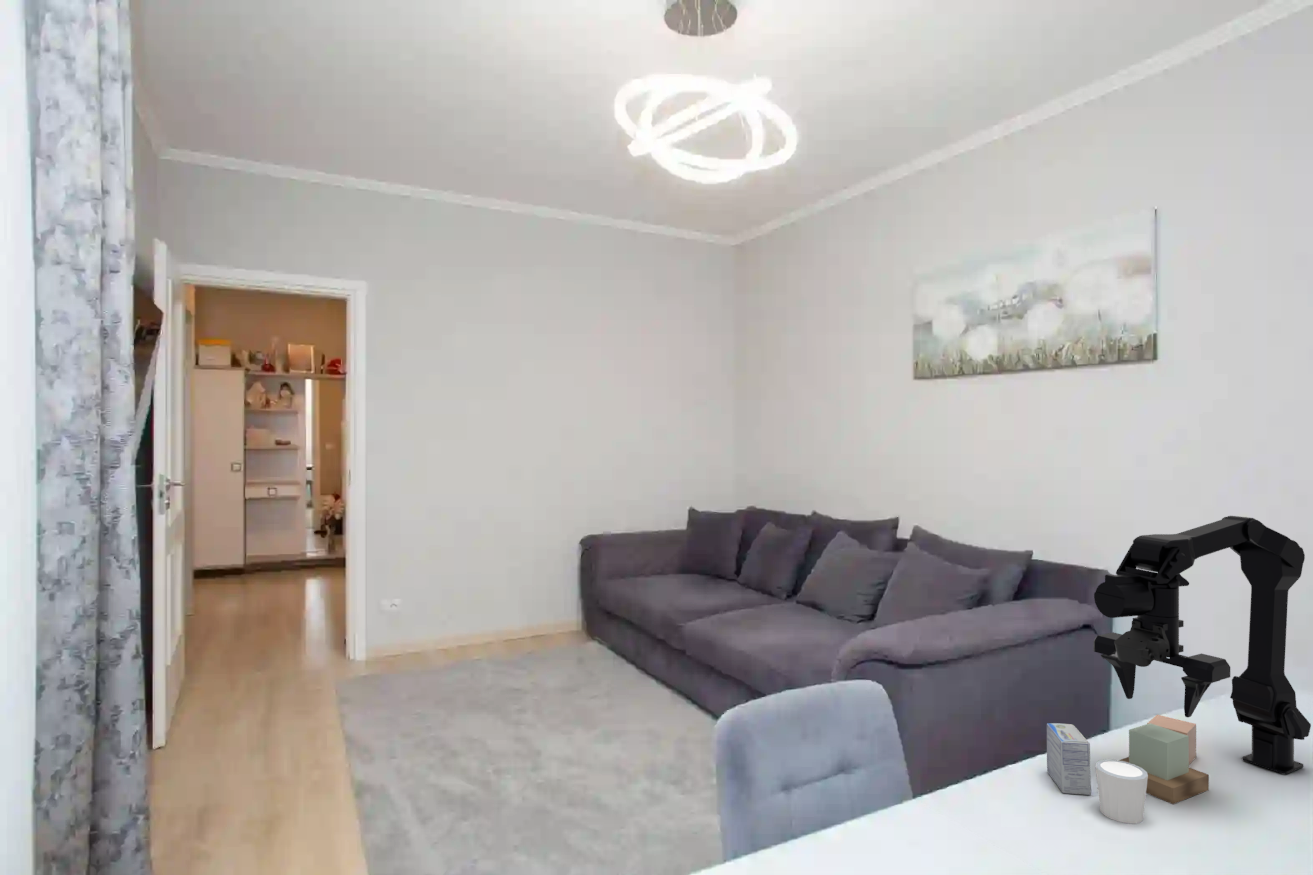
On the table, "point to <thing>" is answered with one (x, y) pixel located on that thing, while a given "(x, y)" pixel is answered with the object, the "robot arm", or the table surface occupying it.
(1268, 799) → the table surface
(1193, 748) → the clay cube
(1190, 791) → the walnut block
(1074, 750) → the medicine box
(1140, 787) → the white tapered cylinder
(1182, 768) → the sage cube
